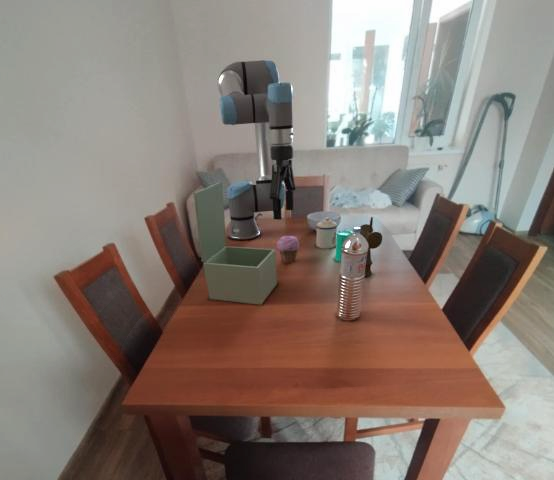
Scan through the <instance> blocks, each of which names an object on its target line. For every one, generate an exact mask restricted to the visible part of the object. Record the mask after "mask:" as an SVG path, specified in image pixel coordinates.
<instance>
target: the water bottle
mask: <svg viewBox="0 0 554 480" xmlns="http://www.w3.org/2000/svg"><path fill="white" fill-rule="evenodd" d="M360 230H361V228H360V226H354V227H352V235H350V236H349V237H348V238H346V240H345V241H344V242H343V244H342V249H341V250H342V256H341V262H340V269H339V270H340V271H339V277H338V289H337V301H336V316H337V317H338V319H340V320H343V321H348V322H349V321H354V320H357V319H358V318H359V317H360V315H361V309H362V300H363V292H364V286H365V285H364V284H365V278H366V277H365V267H366V259H367V252H368V247H369V245H368V243H367V241H366V239H365V238H364V237H363V236H362V235H361V234H360Z"/></svg>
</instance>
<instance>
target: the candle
mask: <svg viewBox="0 0 554 480" xmlns="http://www.w3.org/2000/svg"><path fill="white" fill-rule="evenodd" d="M352 234H353V230H346V229H345V230H337V231H336V245H335V255H334V256H335V258H334V259H335V261H337V262H339V263H341V256H342V250H341V249H342V244H343V242H344V241H345V240H346V238H348V237H349V236H350V235H352Z"/></svg>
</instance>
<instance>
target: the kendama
mask: <svg viewBox="0 0 554 480" xmlns="http://www.w3.org/2000/svg"><path fill="white" fill-rule="evenodd" d="M373 222H374V217H373V216H371V217H370V220H369V223H364V224H362V225H360V226H359V227H360V228H361V230H360V234H361V235H362V236H363V237H364V238H365V239H366V241H367V243H368V245H369V247H368V252H367V259H366V267H365V277H364V278H367V277H370V276H372V275H373V271H372V269H371V267H372V266H373V261H372V257H371V256H372V255H371V249H373V250H374V249H377V248H379V247H380V246H381V244H382V243H383V234H382V233H381V232H379V231H374V227H373V224H374V223H373Z"/></svg>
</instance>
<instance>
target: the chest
mask: <svg viewBox="0 0 554 480" xmlns="http://www.w3.org/2000/svg"><path fill="white" fill-rule="evenodd" d="M276 253H277V252H276V249H274V248H260V247H245V246H244V247H243V246H227V245H226V246H224V247H223V248H222V249H220V250H219V251H218V252H216V253H215V254H214V255H212V256H211V257H210V258H209V259H207V260H206V261H205V262H202V266H203V270H204V271H203V272H204V275H205V281H206V286H207V292H208V296H209V300H213V301H214V300H215V301H223V302H233V303H242V304H251V305H258V306H259V305H260V306H261V305H262V304H263V303H264V302H265V300H267V298H268V297H269V296H270V294H271V293H272V291H273V290H274V289H275V288H276V286H277V285H278V274H277V255H276Z"/></svg>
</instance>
